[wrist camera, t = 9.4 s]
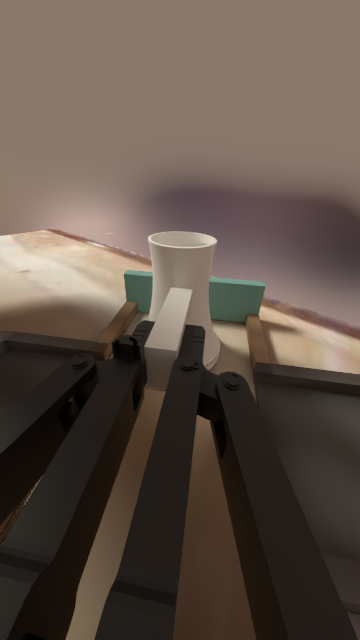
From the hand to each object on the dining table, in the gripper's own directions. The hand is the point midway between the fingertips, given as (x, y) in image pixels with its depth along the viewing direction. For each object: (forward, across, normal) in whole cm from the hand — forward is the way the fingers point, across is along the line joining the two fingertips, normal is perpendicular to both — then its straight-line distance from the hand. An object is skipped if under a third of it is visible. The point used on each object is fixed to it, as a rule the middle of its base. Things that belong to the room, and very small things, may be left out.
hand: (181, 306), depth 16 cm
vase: (+3, 0, -6) cm, 7 cm away
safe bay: (+9, 0, -6) cm, 11 cm away
